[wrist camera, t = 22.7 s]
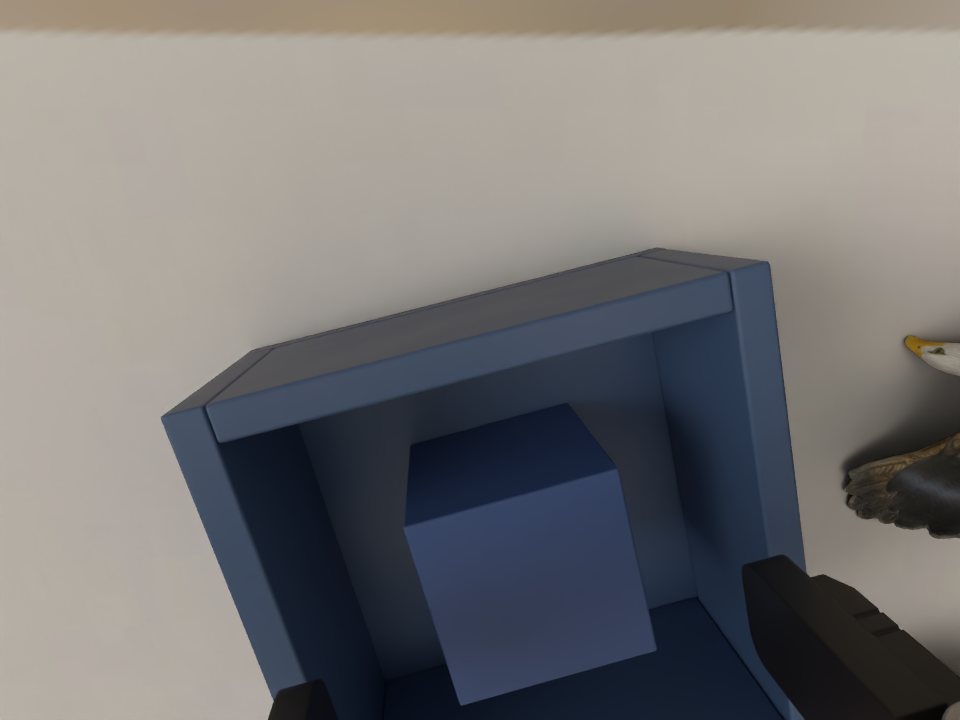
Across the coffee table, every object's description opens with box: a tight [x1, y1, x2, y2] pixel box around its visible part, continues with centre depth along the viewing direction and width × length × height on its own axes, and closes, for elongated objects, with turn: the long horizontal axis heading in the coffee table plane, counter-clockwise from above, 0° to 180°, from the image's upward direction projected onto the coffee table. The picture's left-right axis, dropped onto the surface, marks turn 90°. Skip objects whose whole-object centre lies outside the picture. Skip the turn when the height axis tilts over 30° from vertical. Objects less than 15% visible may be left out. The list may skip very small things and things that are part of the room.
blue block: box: [404, 403, 657, 705], centre depth 15 cm, size 5×5×5 cm
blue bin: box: [161, 248, 807, 720], centre depth 15 cm, size 12×12×6 cm
